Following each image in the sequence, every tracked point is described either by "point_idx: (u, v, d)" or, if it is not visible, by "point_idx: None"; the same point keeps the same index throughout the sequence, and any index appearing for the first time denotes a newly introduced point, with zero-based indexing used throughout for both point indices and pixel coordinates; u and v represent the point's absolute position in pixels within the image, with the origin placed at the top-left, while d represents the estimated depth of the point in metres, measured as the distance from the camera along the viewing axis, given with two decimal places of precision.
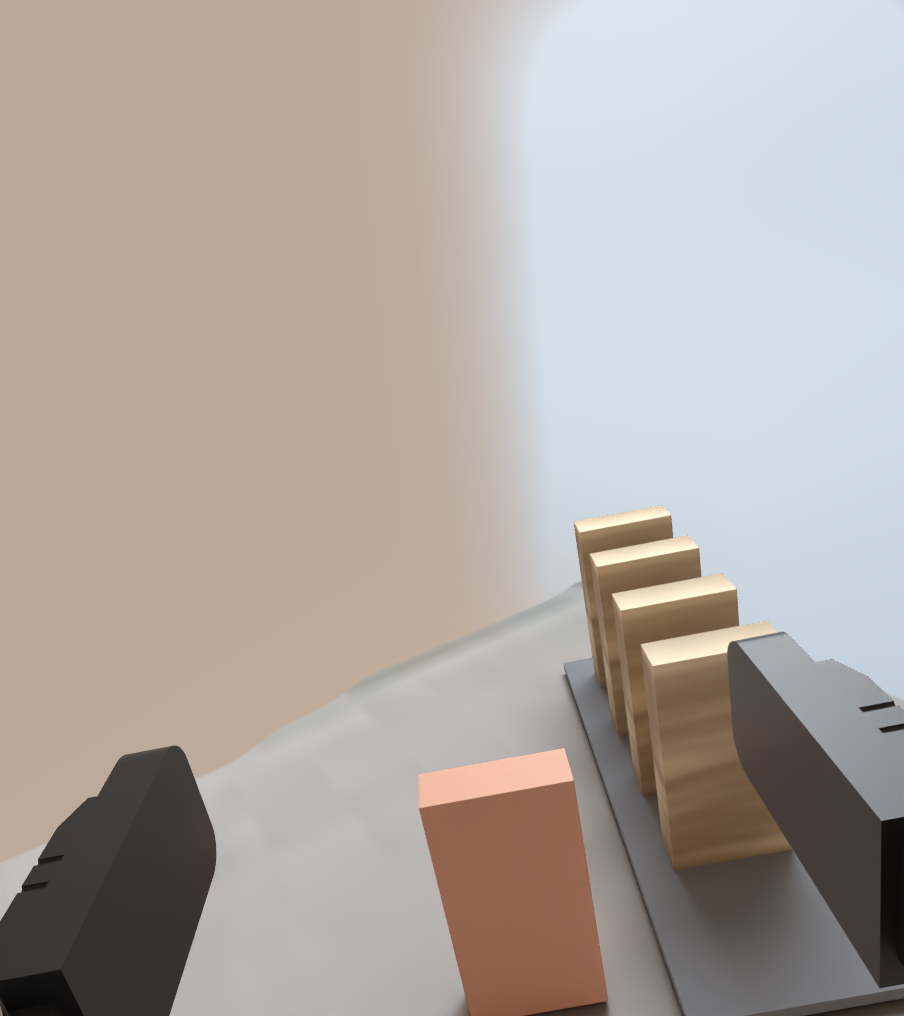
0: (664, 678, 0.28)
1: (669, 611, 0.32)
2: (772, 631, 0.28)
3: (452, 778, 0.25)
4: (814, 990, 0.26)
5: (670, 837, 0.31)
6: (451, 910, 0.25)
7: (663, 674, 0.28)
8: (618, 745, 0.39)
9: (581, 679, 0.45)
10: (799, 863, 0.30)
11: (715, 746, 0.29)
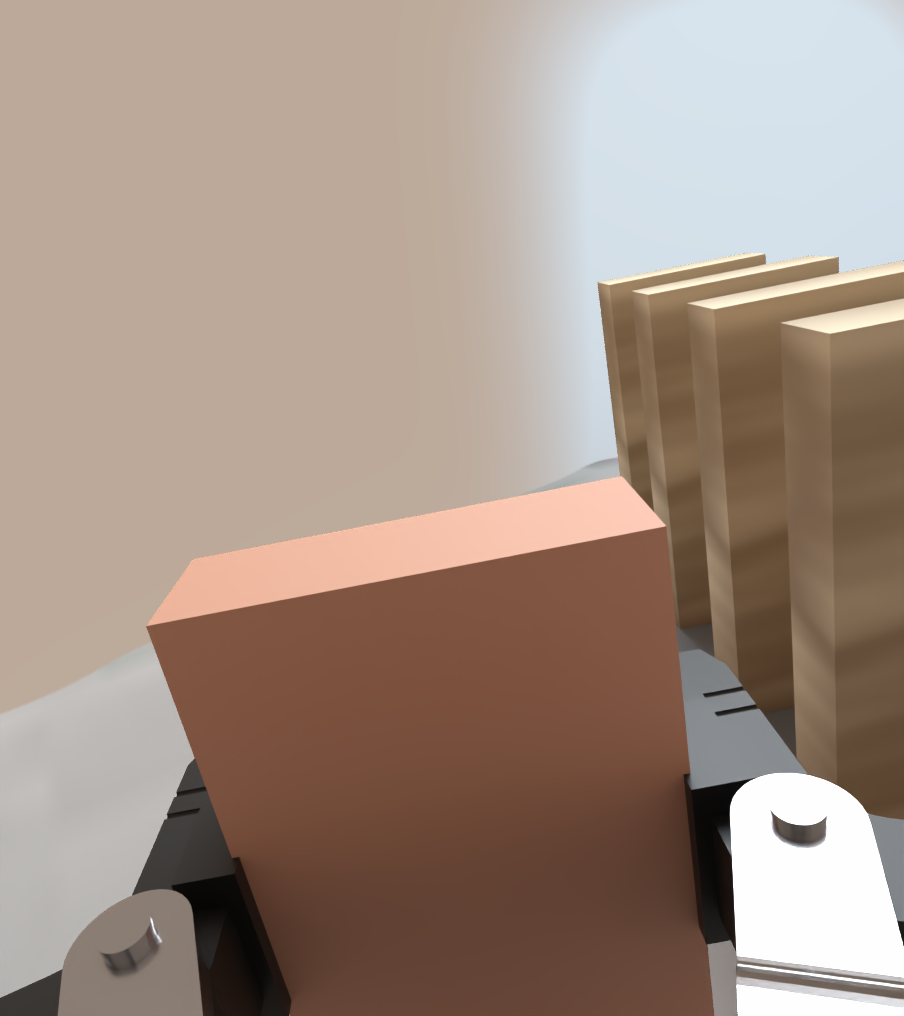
0: (858, 369, 0.11)
1: (814, 313, 0.15)
2: None
3: (282, 557, 0.08)
4: None
5: (834, 780, 0.14)
6: (291, 960, 0.09)
7: (855, 358, 0.11)
8: (682, 641, 0.22)
9: None
10: None
11: None
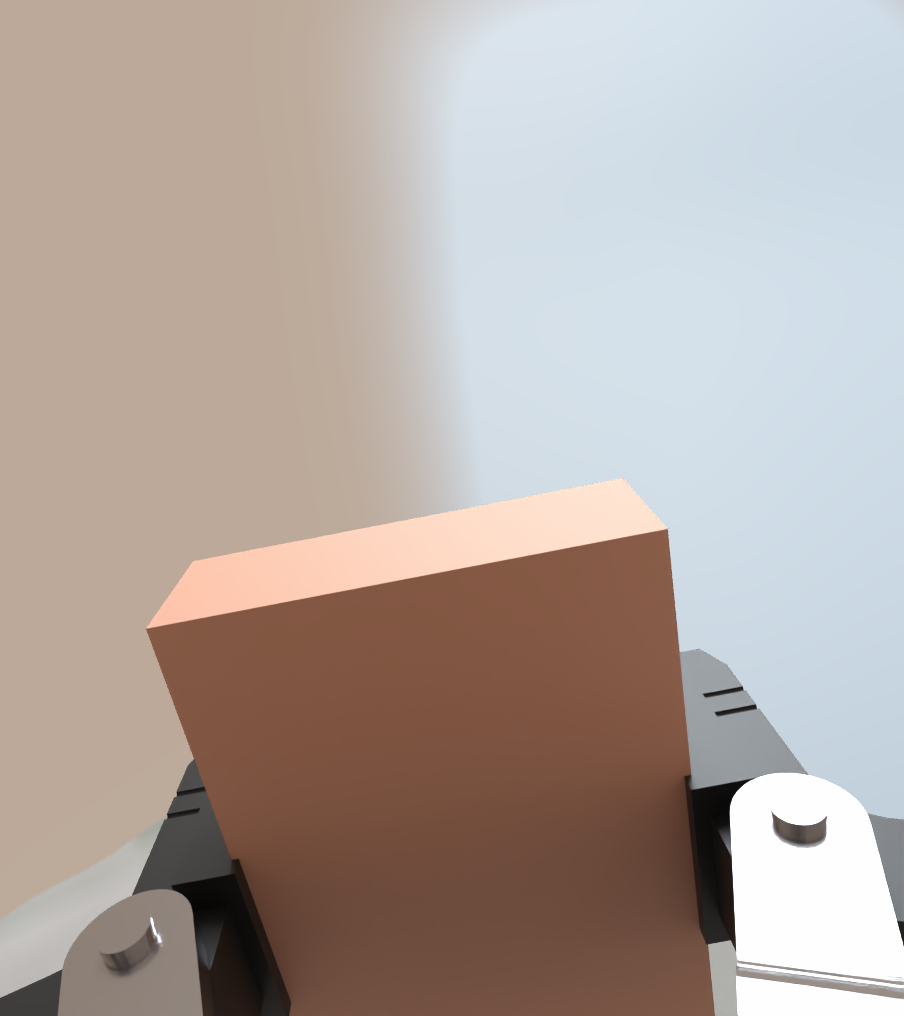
0: None
1: None
2: None
3: (283, 560, 0.08)
4: None
5: None
6: (291, 963, 0.09)
7: None
8: None
9: None
10: None
11: None
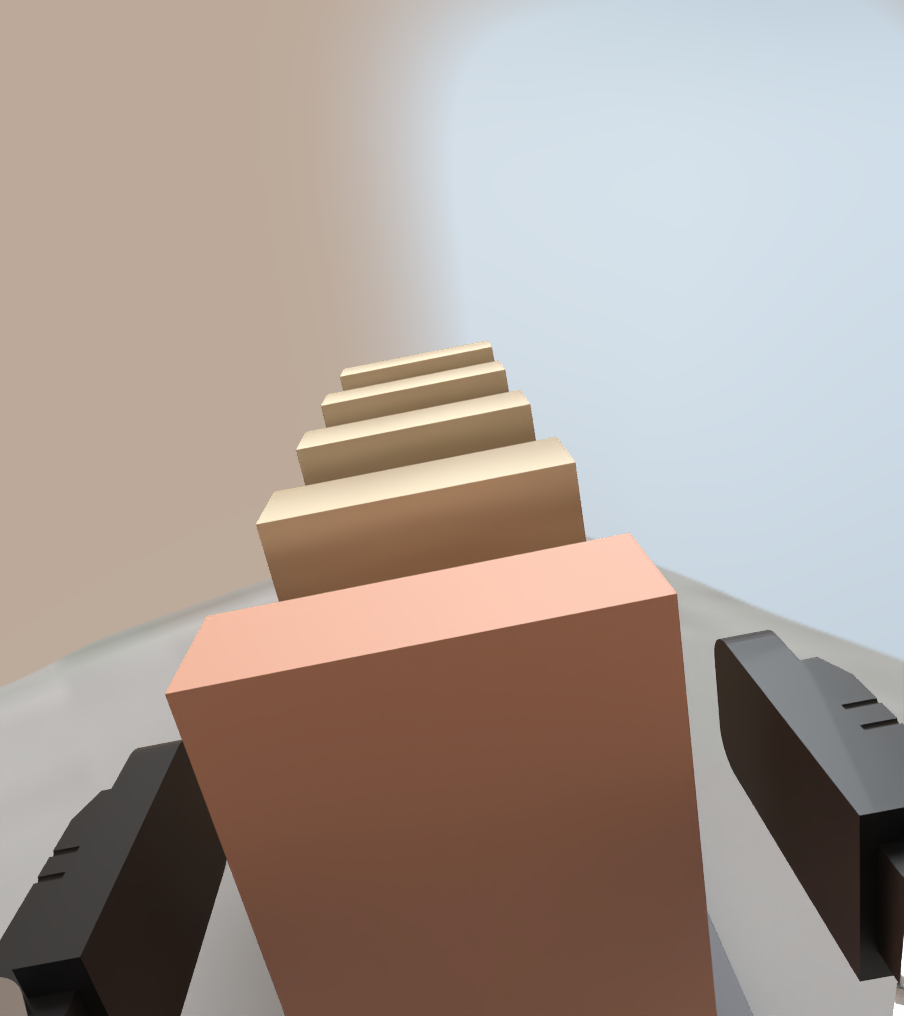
0: (292, 555, 0.12)
1: (397, 452, 0.16)
2: (556, 450, 0.12)
3: (296, 617, 0.08)
4: None
5: None
6: (305, 1012, 0.09)
7: (287, 546, 0.12)
8: None
9: None
10: None
11: None
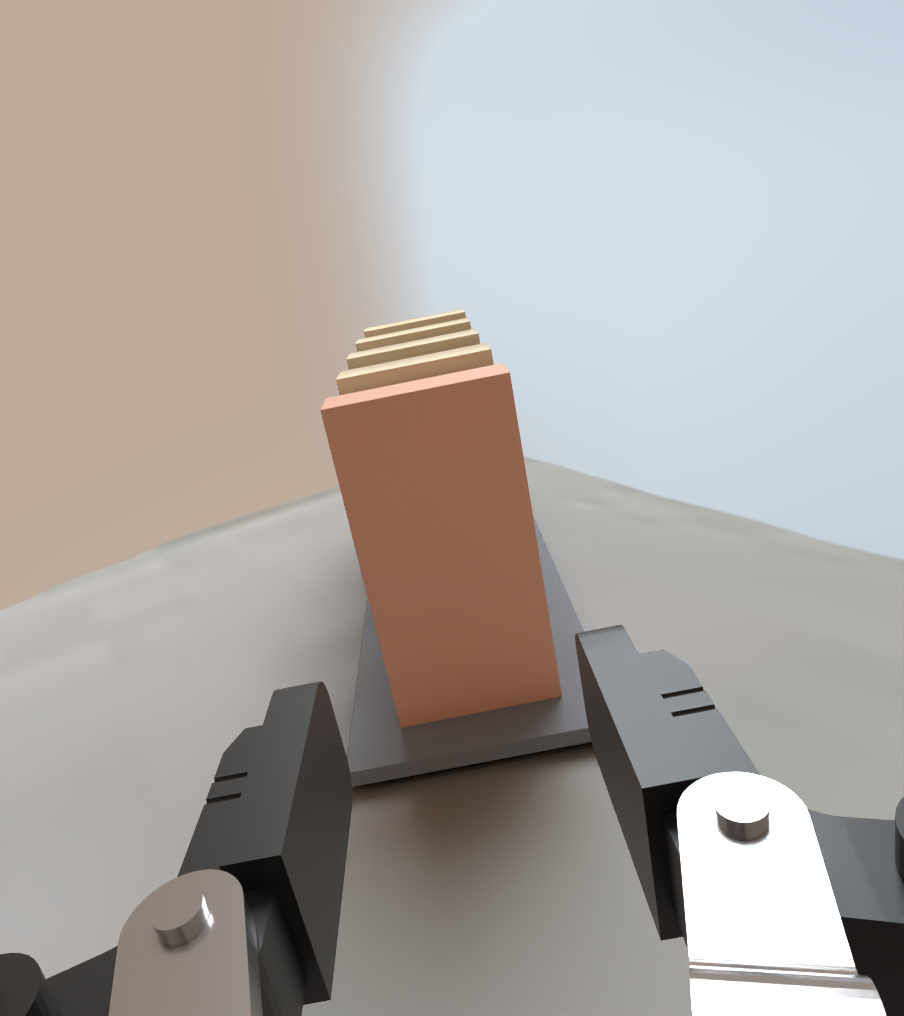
0: None
1: None
2: (484, 346, 0.24)
3: (365, 393, 0.20)
4: (498, 734, 0.22)
5: None
6: (367, 562, 0.21)
7: (350, 391, 0.24)
8: None
9: None
10: None
11: None
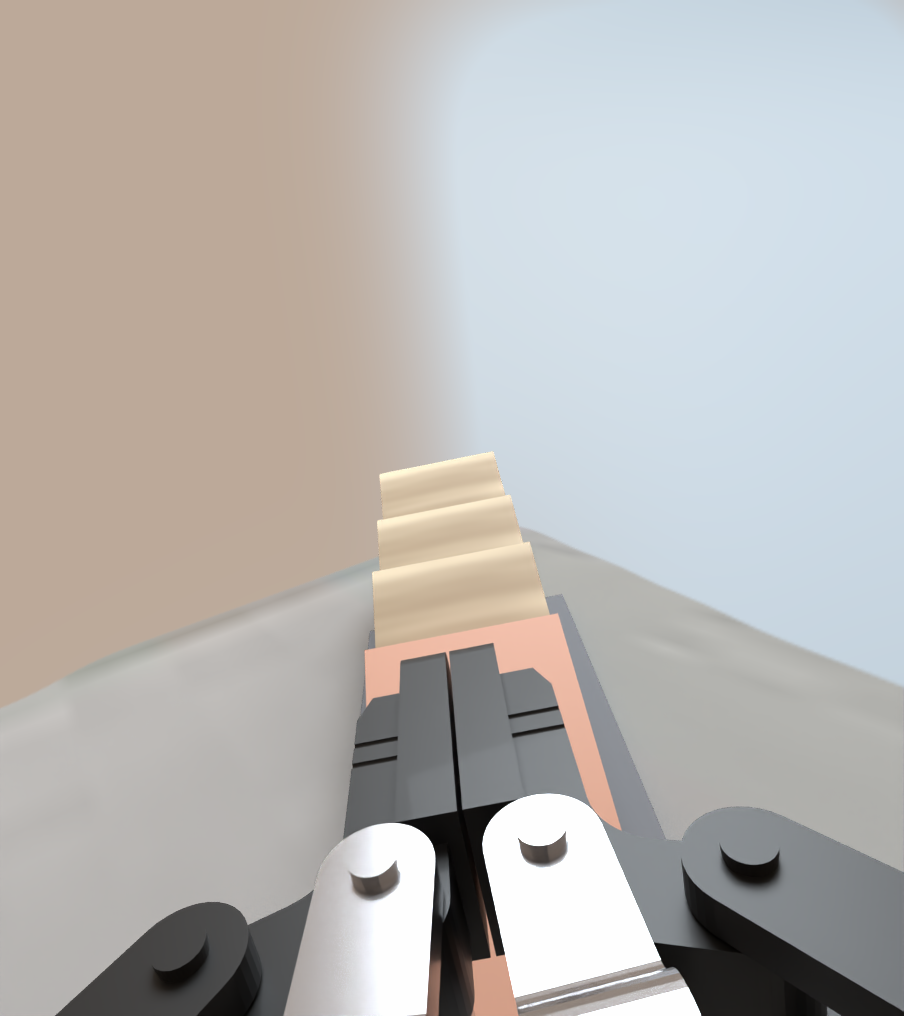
0: (386, 583, 0.23)
1: (433, 518, 0.27)
2: None
3: None
4: None
5: None
6: None
7: (384, 580, 0.23)
8: None
9: None
10: None
11: None
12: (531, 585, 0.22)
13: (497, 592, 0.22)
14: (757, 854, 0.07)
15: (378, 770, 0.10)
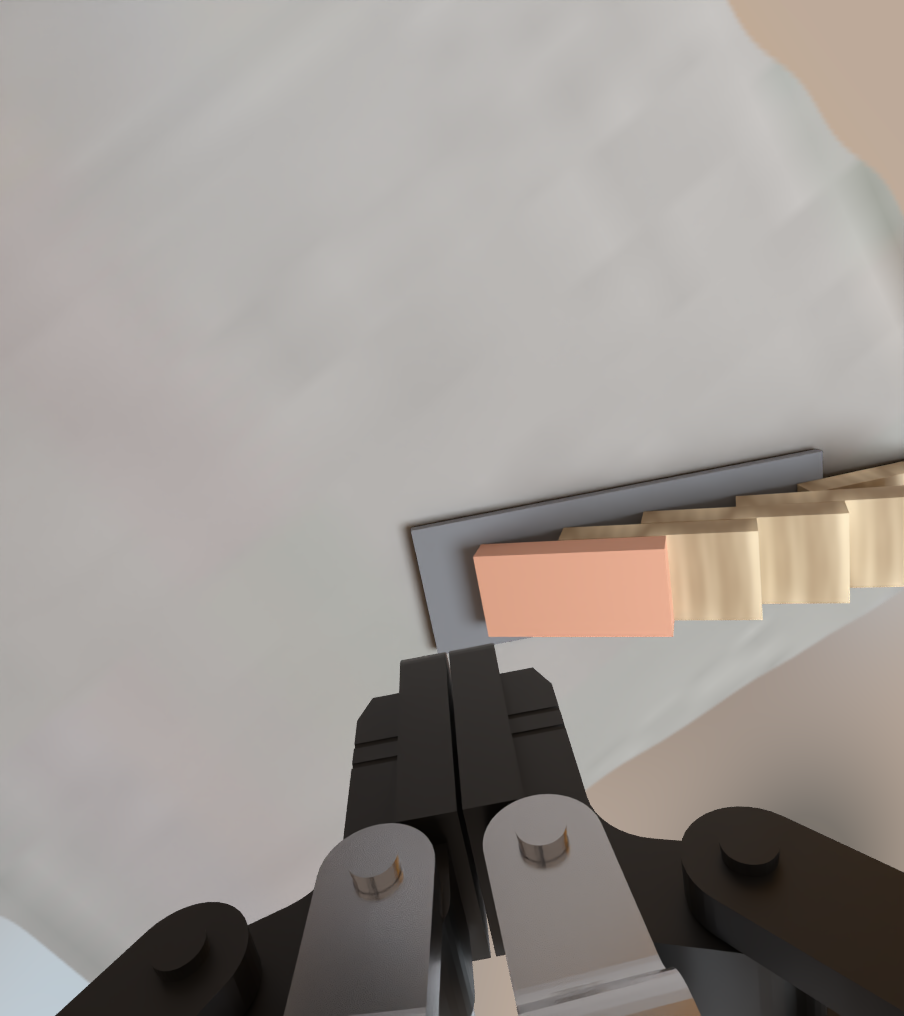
0: (745, 539, 0.37)
1: (838, 551, 0.38)
2: None
3: (667, 559, 0.38)
4: (433, 601, 0.43)
5: (589, 537, 0.40)
6: (575, 556, 0.39)
7: (748, 538, 0.37)
8: (672, 503, 0.42)
9: (785, 470, 0.41)
10: None
11: (674, 571, 0.39)
12: (724, 615, 0.39)
13: (723, 598, 0.39)
14: (757, 854, 0.07)
15: (378, 770, 0.10)
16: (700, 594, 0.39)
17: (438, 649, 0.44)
